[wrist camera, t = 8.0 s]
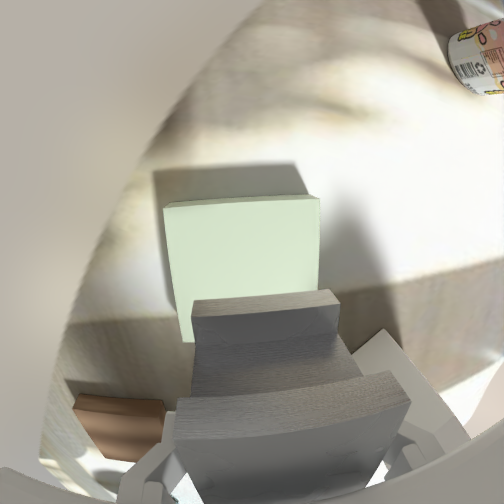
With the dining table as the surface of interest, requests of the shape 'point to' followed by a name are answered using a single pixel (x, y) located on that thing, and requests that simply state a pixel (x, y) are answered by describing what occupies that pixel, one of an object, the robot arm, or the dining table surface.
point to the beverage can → (479, 57)
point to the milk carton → (412, 390)
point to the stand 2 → (241, 248)
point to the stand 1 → (121, 425)
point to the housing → (281, 403)
